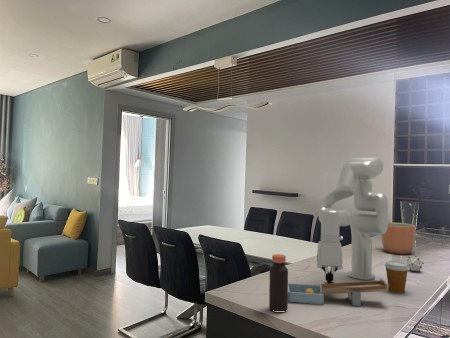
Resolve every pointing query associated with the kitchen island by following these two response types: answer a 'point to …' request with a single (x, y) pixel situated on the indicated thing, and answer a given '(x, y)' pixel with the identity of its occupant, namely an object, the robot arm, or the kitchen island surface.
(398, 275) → the disposable coffee cup
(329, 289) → the lever
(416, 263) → the spiky grey ball
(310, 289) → the ball
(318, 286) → the dish
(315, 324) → the kitchen island surface
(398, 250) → the planter
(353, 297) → the grey arch block
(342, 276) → the kitchen island surface
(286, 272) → the bottle
